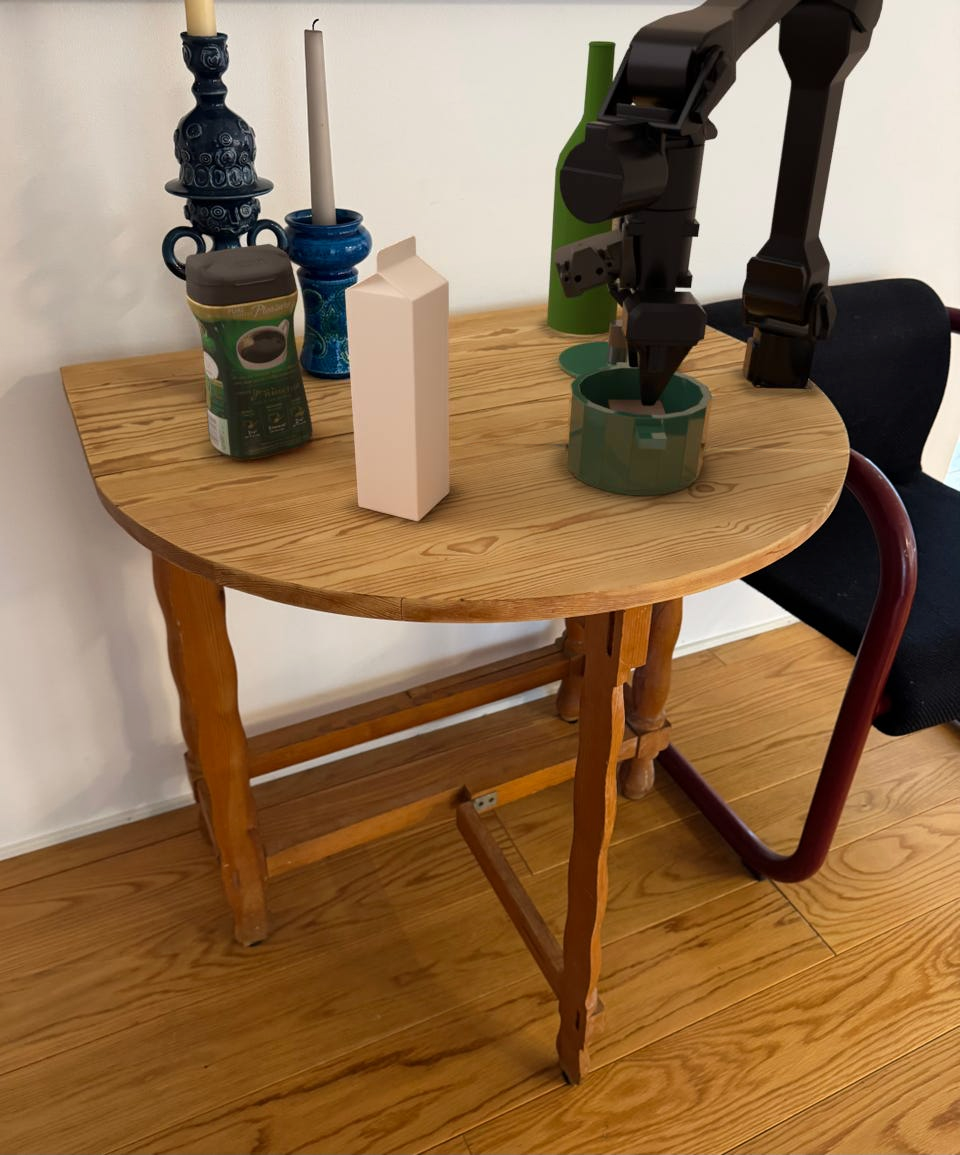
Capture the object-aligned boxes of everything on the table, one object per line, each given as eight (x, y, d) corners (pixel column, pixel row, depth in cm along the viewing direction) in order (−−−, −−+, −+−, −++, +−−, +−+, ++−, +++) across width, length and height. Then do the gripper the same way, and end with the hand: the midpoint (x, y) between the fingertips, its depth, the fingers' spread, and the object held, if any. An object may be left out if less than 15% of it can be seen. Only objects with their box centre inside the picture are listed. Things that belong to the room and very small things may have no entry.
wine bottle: (611, 342, 119) (638, 46, 101) (541, 335, 121) (556, 43, 103) (619, 320, 127) (646, 40, 109) (553, 314, 128) (568, 38, 110)
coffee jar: (290, 418, 98) (271, 232, 88) (323, 447, 92) (307, 252, 82) (199, 439, 93) (168, 245, 83) (228, 470, 88) (198, 267, 78)
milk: (358, 507, 82) (338, 247, 70) (392, 479, 87) (380, 229, 75) (419, 523, 80) (410, 256, 68) (451, 492, 85) (448, 238, 73)
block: (654, 448, 92) (661, 400, 89) (662, 471, 88) (668, 421, 85) (603, 447, 92) (607, 399, 89) (608, 470, 88) (613, 420, 85)
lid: (665, 351, 117) (671, 305, 114) (683, 393, 105) (690, 344, 102) (554, 348, 117) (557, 303, 114) (560, 390, 105) (564, 341, 102)
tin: (683, 426, 98) (693, 356, 94) (716, 511, 83) (730, 432, 78) (560, 424, 98) (565, 354, 94) (572, 508, 83) (578, 429, 79)
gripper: (556, 179, 85) (547, 348, 94) (569, 228, 70) (557, 425, 78) (680, 182, 85) (660, 350, 94) (721, 231, 69) (692, 428, 78)
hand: (640, 385), depth 86 cm, fingers open, 9 cm apart
